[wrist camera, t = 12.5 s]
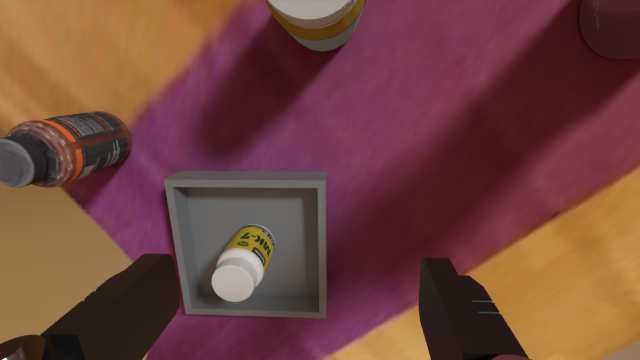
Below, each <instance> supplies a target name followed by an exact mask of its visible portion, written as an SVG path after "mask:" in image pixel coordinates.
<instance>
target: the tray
mask: <svg viewBox="0 0 640 360" xmlns="http://www.w3.org/2000/svg"><path fill="white" fill-rule="evenodd" d="M164 183H165V190H166V196H167V202H168V208H169V214H170V220H171V226H172V233H173V239H174V245H175V251H176V257H177V263H178V270H179V276H180V282H181V288H182V294H183V300H184V307H185V313H186V314H201V315H233V316H265V317H297V318H326V316H327V171H202V170H180V171H178V172H176V173H175V174H173V175H171V176H169V177H167V178H166V179H164ZM248 224H258V225H261V226H263V227H265V228H267V229H268V230H269V231H270V232H271V233H272V235H273V237H274V240H275V248H274V251H273V253H272V256H271V258H270V261H269V263H268V266H267V268H266V271H265V273H264V276H263V278H262V280H261V282H260V283H259V284H258V285H257V286H256V287H255V288H254V290H253V292H252V294H251V295H250V296H249V297H248V298H247V299H245V300H243V301H239V302H231V301H227V300H224V299H223V298H221V297H219V296H218V295H217V294H216V292H215V291H214V289H213V287H212V276H213V273H214V272H215V270H216V267H217V261H218V259H219V257H220V256H221V254H222V253H223V251H224V250H225V248H226V247H227V246H228V244H229V243H230V241H231V240H232V239H233V237H234V236H235V234H236V233H237V231H238V230H239V229H240V228H242V227H243V226H245V225H248Z"/></svg>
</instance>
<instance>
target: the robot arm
mask: <svg viewBox="0 0 640 360" xmlns="http://www.w3.org/2000/svg"><path fill="white" fill-rule="evenodd" d="M579 24H580V30H581V33H582V36H583V39H584V40H585V42H586V43H587V45H588V46H589V47H590V48H591V49H592V50H593V51H594V52H596V53H597V54H599V55H601V56H603V57H606V58H611V59H635V58H640V0H582V2H581V5H580V12H579ZM179 305H180V291H179V286H178V281H177V276H176V271H175V266H174V261H173V258H172V256H171V255H169V254H144V255H142V256H141V257H140V258H138V259H137V260H136V261H135V262H134V263H132V264H131V265H130V266H129V267H128V268H126V269H125V270H124V271H122V272H120V273H118V274H116V275H114V276H113V277H111V278H109V279H108V280H107V281H106V282H104V283H103V284H102V285H101V286H99V287H98V288H97V289H96V291H94V292H92V293H91V294H90V295H89V296H87V297H86V298H85V300H84V301H81V302H80V303H79V304H77V305H76V306H75V307H74V308H72V309H71V310H70V311H69V312H68V313H66V314H65V315H64V316H63V317H61V318H60V319H59V320H58V321H57V322H55V323H54V324H53V325H52V326H51V327H49V328H48V329H47V330H46V331H44V332H43V333H42V334H41V335H25V336H20V337H17V338H13V339H11V340H8V341H5V342H3V343H1V344H0V360H142V359H143V357H144V356H145V355H146V353H147V352H148V351H149V349H150V348H151V347H152V345H153V344H154V343H155V341H156V340H157V339H158V337H159V336H160V335H161V333H162V332H163V331H164V329H165V328H166V327H167V325H168V324H169V323H170V321H171V320H172V319H173V317H174V316H175V315H176V313H177V311H178V308H179ZM419 315H420V322H421V326H422V329H423V333H424V336H425V340H426V343H427V347H428V350H429V354H430V357H431V360H531V359H529V358H528V356H527V355H526V353H525V351H524V350H523V348H522V347H521V345H520V344H519V342H518V340H517V339H516V337H515V336H514V334H513V332H512V331H511V329H510V328H509V326H508V325H507V323H506V321H505V320H504V318H503V317H502V315H501V314H499V310H498V309H497V307H496V306H495V304H494V303H492V299H491V298H490V296H489V295H488V293H487V292H486V290H485V288H484V287H483V286H482V285H480V284H479V283H478V282H477V281H475V280H474V279H473V278H471V277H470V276H460V275H458V274H457V272H456V270H455V268H454V266H453V265H452V263H451V261H450V259H449V258H422V261H421V271H420V288H419Z"/></svg>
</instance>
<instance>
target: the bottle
mask: <svg viewBox="0 0 640 360" xmlns="http://www.w3.org/2000/svg"><path fill="white" fill-rule="evenodd" d="M365 2H366V0H266V3H267V5H268V7H269V9H270V11H271V13H272V15H273V16H274V18H275V19H276V20H277V22H278V23H279V24H280V25H281V26H282V27H283V28H284V29H285V30H286V31H287V32H288V33H289V34H290V35H291V36H293V37H294V38H295V39H296V40H297V41H298V42H299V43H300V44H302V45H303V46H305V47H307V48H309V49H311V50H315V51H329V50H334V49H336V48H338V47H340V46H341V45H343V44H344V43H345V42H346V41H347V40H348V39H349V38H350V37H351V36H352V35H353V33H354V31H355V29H356V27H357V25H358V22H359V19H360V16H361V14H362V11H363V8H364V5H365Z"/></svg>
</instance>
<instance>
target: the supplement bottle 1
mask: <svg viewBox="0 0 640 360" xmlns="http://www.w3.org/2000/svg"><path fill="white" fill-rule="evenodd" d="M130 149H131V137H130V134H129V131H128V129H127V127H126V126H125V124H124V123H123V122H122V121H121V120H120V119H118V118H117V117H116V116H114V115H112V114H110V113H107V112H99V111H98V112H97V111H96V112H87V113H80V114H73V115H66V116H59V117H52V118H46V119H39V120H32V121H27V122H23V123H20V124H18V125H16V126H15V127H14V128H12V129H11V130H10V132H9V133H8V135H7V136H6V137H4V138H0V182H1V183H3V184H5V185H8V186H11V187H23V186H27V185H30V184H33V185H36V186H41V187H56V186H60V185H63V184H66V183H68V182H71V181H74V180H76V179H79V178H82V177H84V176H87V175H89V174H92V173H94V172H97V171H100V170H102V169H105V168H107V167H110V166H112V165H115V164H117V163H119V162H121V161H123V160H124V159H125V158H126V157H127V156H128V154H129V152H130Z"/></svg>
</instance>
